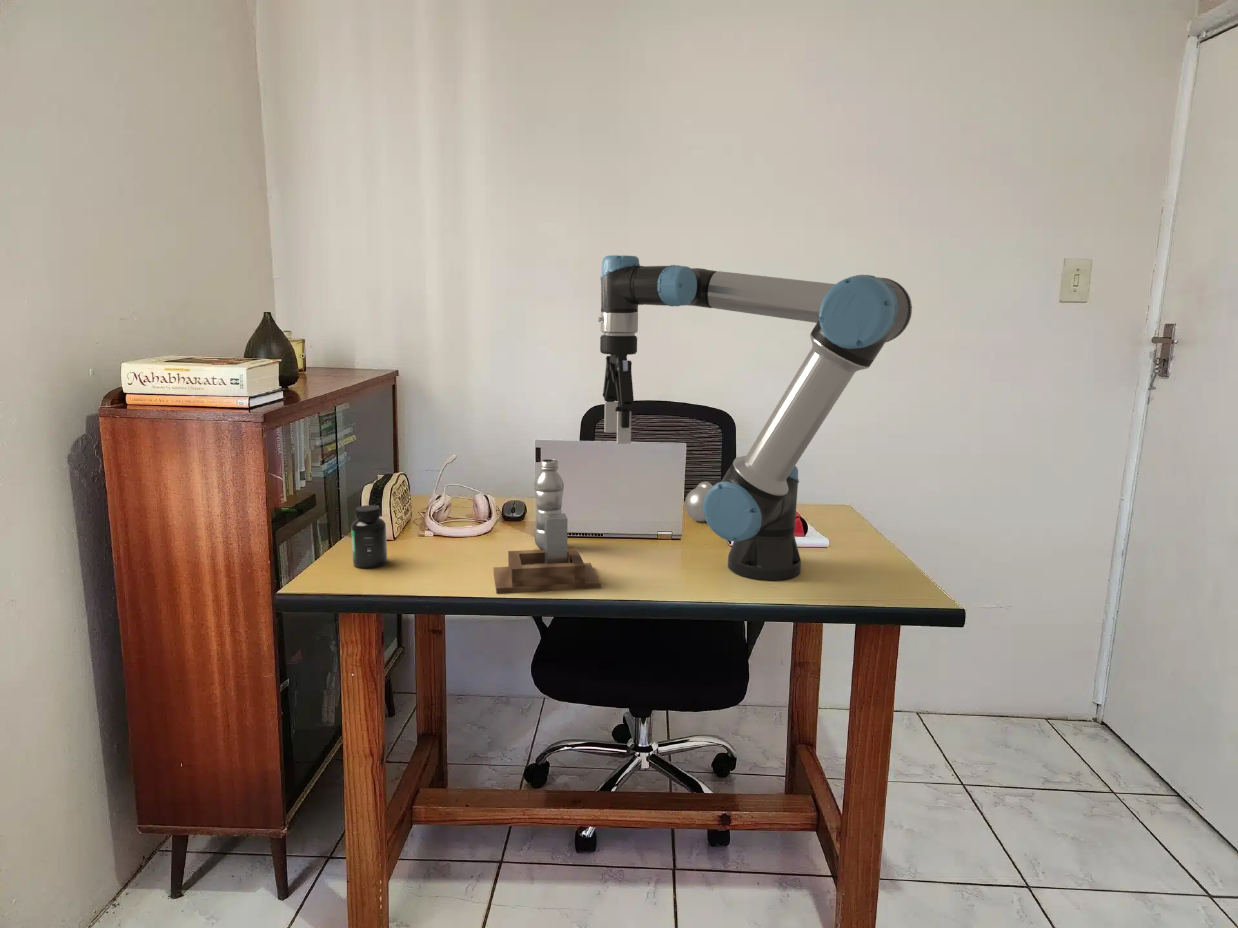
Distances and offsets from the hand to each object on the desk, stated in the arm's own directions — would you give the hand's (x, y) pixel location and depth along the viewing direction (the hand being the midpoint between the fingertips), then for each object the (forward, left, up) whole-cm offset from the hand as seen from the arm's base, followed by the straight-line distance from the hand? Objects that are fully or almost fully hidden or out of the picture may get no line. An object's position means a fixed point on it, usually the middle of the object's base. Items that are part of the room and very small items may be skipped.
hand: (617, 437), depth 166 cm
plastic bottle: (+13, -10, -27) cm, 32 cm away
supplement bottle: (+51, -5, -27) cm, 58 cm away
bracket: (+16, +10, -26) cm, 32 cm away
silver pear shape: (-28, -27, -27) cm, 47 cm away
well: (+16, +10, -27) cm, 33 cm away
